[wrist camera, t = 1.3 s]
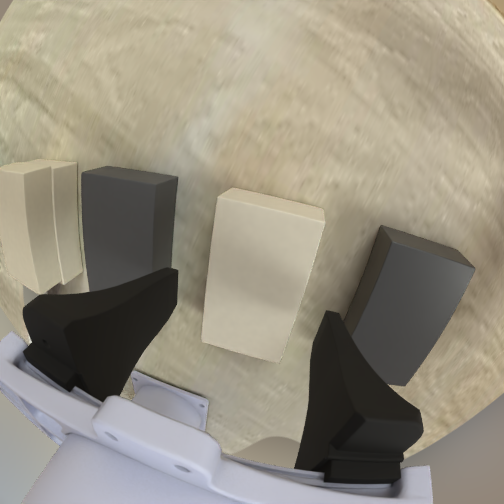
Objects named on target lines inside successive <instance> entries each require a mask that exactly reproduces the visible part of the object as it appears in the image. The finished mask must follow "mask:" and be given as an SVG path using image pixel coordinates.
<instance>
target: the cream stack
mask: <svg viewBox="0 0 504 504" xmlns="http://www.w3.org/2000/svg"><path fill="white" fill-rule="evenodd" d="M0 240H1V245H2V250H3V255H4V259H5V264H6V268H7V272H8V275H9V276H11V277H12V278H14V279H15V280H17V281H18V282H20V283H21V284H23V285H24V286H26V287H27V288H29V289H30V290H32V291H34V292H36V293H37V294H39V295H40V294H44V293H45V292H47V291H48V290H49V289H51V288H52V287H53V286H55V285H56V284H58V283H61V284H63V285H65V284H66V283H68V282H69V281H70V280H72V279H73V278H75V277H76V276H77V275H79V274H80V273H82V272H83V267H82V259H81V250H80V239H79V226H78V206H77V163H76V162H67V161H57V160H46V159H36V160H32V161H28V162H24V163H20V162H16V163H12V164H8V165H5V166H1V167H0Z"/></svg>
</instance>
